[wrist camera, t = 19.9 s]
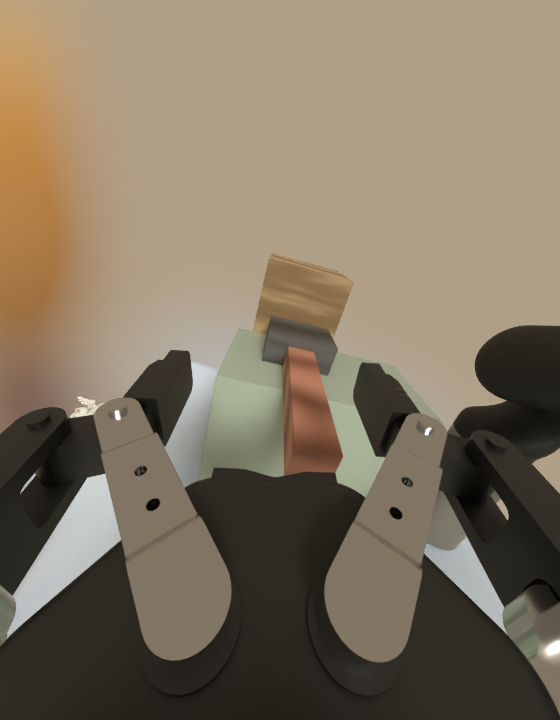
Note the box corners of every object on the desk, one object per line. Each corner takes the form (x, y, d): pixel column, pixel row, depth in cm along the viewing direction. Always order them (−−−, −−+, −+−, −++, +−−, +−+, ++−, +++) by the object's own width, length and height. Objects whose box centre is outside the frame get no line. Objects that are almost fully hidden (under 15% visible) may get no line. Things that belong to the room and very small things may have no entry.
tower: (294, 454, 49) (358, 283, 36) (225, 440, 48) (265, 258, 35) (292, 412, 61) (339, 271, 48) (236, 400, 60) (269, 252, 46)
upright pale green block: (365, 549, 37) (445, 426, 27) (191, 520, 34) (216, 375, 25) (343, 468, 49) (394, 366, 40) (215, 443, 47) (238, 328, 38)
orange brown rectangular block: (366, 491, 17) (389, 452, 16) (244, 468, 16) (256, 424, 15) (319, 350, 38) (327, 328, 36) (265, 337, 37) (271, 314, 36)
